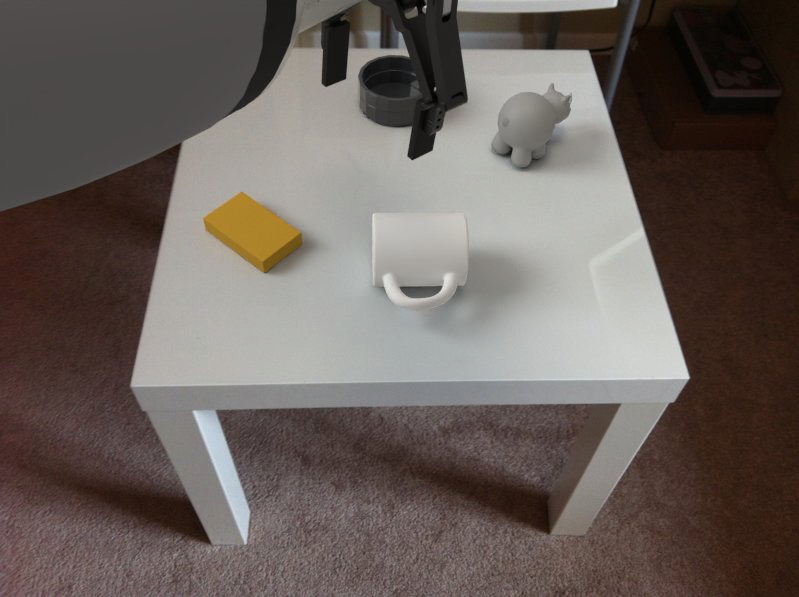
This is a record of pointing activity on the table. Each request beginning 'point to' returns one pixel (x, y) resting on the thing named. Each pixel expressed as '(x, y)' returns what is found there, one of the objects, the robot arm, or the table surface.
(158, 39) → the robot arm
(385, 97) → the dark grey round container
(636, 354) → the table surface
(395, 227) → the mug
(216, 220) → the ochre rectangular brick
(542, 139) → the round bodied animal figurine
